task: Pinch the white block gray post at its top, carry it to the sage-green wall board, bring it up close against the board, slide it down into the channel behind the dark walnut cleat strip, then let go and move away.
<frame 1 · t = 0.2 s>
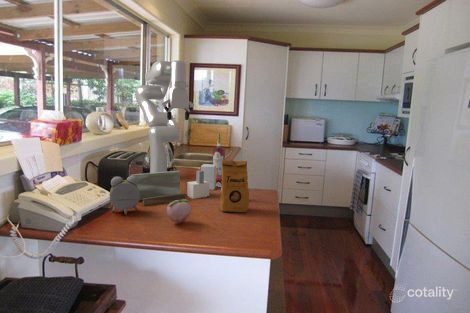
hand: (178, 119, 178), 36 cm above the worktop, tool pointing down, fingers open, 9 cm apart
white block gray post: (198, 196, 171), on the worktop
wall board: (160, 199, 162), on the worktop
liquor: (218, 181, 206), on the worktop
decorative fruit: (178, 223, 131), on the worktop
coffee package: (234, 211, 150), on the worktop
supplement box: (208, 188, 188), on the worktop
alarm clock: (125, 213, 141), on the worktop
donut: (230, 200, 166), on the worktop
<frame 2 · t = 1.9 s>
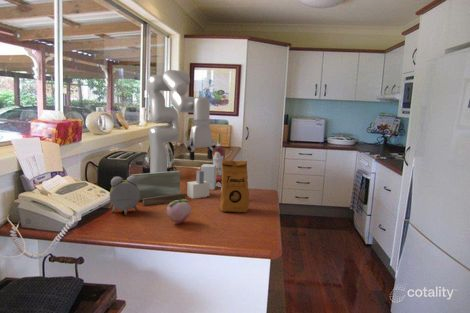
hand: (201, 159, 167), 19 cm above the worktop, tool pointing down, fingers open, 9 cm apart
nothing on the worktop moved.
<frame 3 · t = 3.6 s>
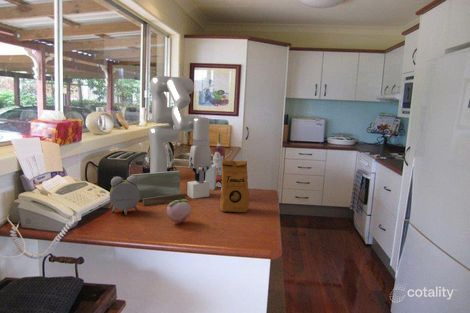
hand: (200, 180, 169), 8 cm above the worktop, tool pointing down, fingers closed on white block gray post, 2 cm apart
white block gray post: (198, 196, 171), on the worktop, touching gripper
everything else where it was.
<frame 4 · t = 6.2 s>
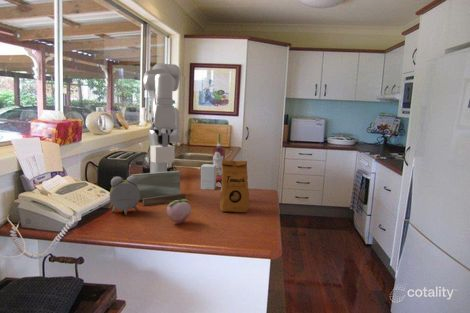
hand: (163, 143, 155), 27 cm above the worktop, tool pointing down, fingers closed on white block gray post, 2 cm apart
white block gray post: (162, 161, 157), point 19 cm above the worktop, touching gripper
everything else where it was.
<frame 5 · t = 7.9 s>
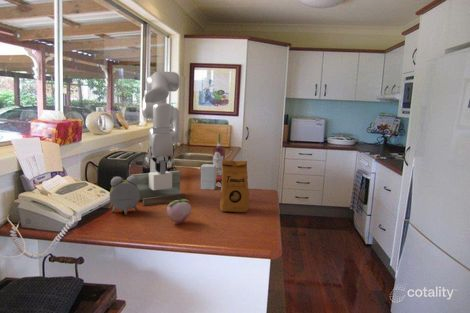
hand: (161, 170, 159), 14 cm above the worktop, tool pointing down, fingers closed on white block gray post, 2 cm apart
white block gray post: (160, 187, 161), point 6 cm above the worktop, touching gripper
everything else where it was.
when the fingers open (9 cm above the worktop, at t = 9.1 s): white block gray post drops 1 cm, on the worktop.
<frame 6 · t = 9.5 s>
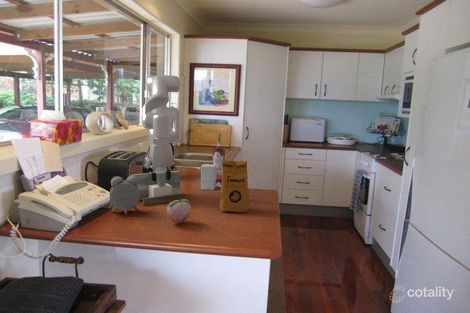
hand: (161, 180, 160), 10 cm above the worktop, tool pointing down, fingers open, 6 cm apart
white block gray post: (160, 200, 162), on the worktop
everything else where it was.
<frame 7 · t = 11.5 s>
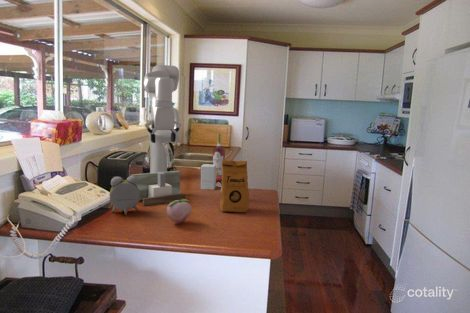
hand: (163, 142, 161), 27 cm above the worktop, tool pointing down, fingers open, 9 cm apart
nothing on the worktop moved.
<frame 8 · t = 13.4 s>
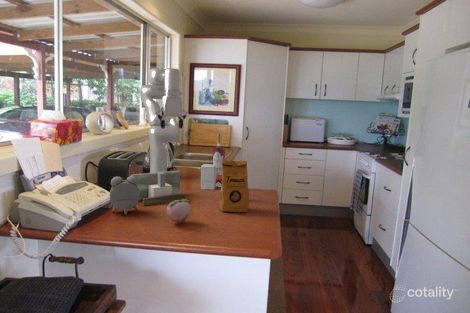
hand: (171, 128, 175), 32 cm above the worktop, tool pointing down, fingers open, 9 cm apart
nothing on the worktop moved.
at the end: white block gray post inside the target area (0.5 cm from its centre), on the worktop; white block gray post tilted 0°; the gripper is holding nothing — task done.
